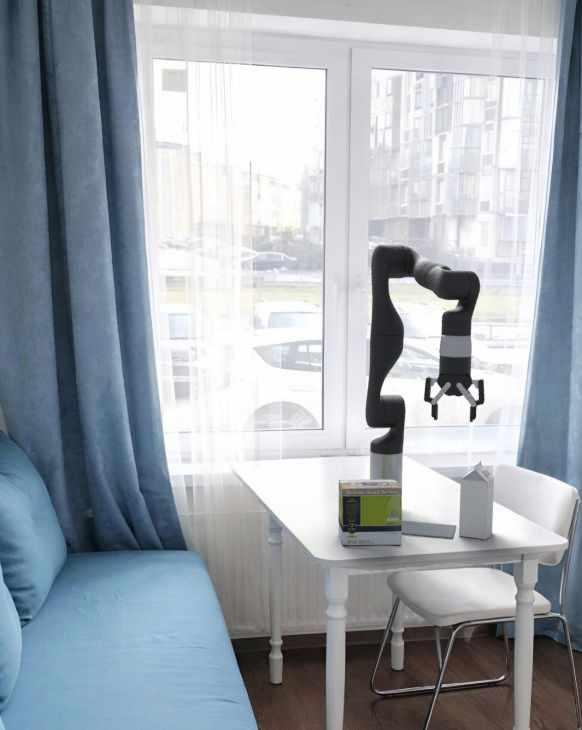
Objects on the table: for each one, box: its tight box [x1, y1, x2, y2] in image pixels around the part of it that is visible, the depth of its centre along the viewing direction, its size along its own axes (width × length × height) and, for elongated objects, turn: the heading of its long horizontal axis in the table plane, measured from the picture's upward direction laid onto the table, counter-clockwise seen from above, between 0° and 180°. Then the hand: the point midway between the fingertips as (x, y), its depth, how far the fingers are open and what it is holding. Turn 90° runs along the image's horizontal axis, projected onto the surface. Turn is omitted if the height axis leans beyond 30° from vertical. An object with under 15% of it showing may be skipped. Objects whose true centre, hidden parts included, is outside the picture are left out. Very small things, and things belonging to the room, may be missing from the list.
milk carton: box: [458, 460, 495, 540], centre depth 214 cm, size 7×7×19 cm
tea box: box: [338, 479, 403, 546], centre depth 209 cm, size 15×10×15 cm
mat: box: [402, 520, 457, 540], centre depth 219 cm, size 11×19×1 cm, turn 75°
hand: (453, 420), depth 200 cm, fingers open, 8 cm apart
